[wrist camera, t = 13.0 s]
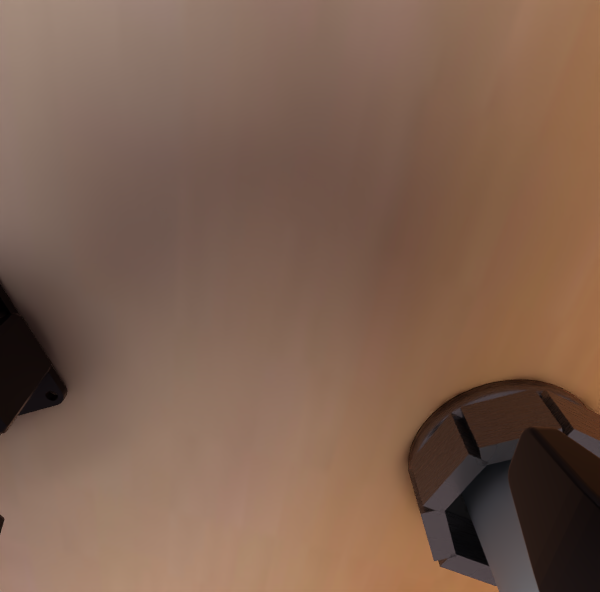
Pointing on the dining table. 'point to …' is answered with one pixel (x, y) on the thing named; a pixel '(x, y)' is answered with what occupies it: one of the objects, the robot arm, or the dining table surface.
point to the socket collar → (482, 457)
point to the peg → (499, 528)
